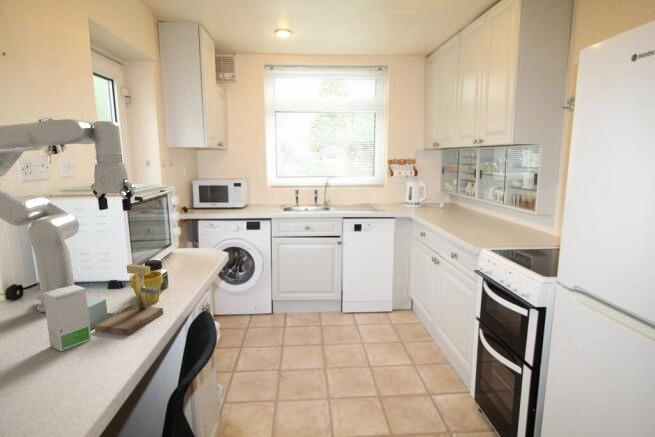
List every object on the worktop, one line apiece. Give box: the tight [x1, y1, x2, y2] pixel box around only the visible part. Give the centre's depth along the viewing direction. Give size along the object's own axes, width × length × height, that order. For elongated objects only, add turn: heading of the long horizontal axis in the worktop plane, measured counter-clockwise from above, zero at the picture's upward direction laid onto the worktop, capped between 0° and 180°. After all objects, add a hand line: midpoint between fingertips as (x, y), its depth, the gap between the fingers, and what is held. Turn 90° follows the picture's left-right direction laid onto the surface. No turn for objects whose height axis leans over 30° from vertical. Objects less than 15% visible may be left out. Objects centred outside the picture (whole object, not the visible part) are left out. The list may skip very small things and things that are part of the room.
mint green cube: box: [87, 297, 109, 325], centre depth 116 cm, size 6×6×6 cm
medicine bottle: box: [144, 258, 170, 294], centre depth 142 cm, size 7×7×12 cm
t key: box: [126, 263, 159, 310], centre depth 119 cm, size 2×11×14 cm, turn 68°
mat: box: [90, 312, 115, 332], centre depth 116 cm, size 9×11×1 cm
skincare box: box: [43, 284, 92, 352], centre depth 103 cm, size 8×7×16 cm
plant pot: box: [129, 271, 163, 306], centre depth 131 cm, size 10×10×10 cm
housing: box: [94, 304, 164, 336], centre depth 116 cm, size 12×15×2 cm
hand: (115, 209), depth 126 cm, fingers open, 9 cm apart
